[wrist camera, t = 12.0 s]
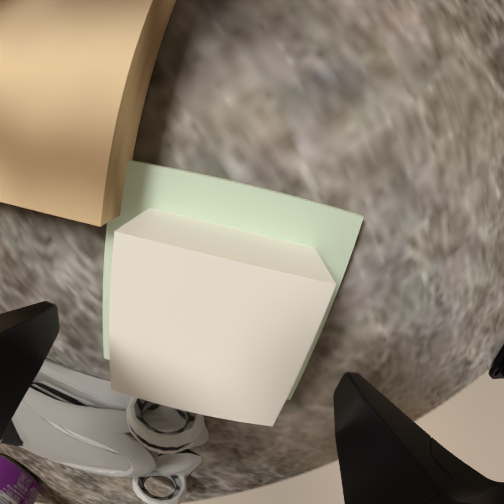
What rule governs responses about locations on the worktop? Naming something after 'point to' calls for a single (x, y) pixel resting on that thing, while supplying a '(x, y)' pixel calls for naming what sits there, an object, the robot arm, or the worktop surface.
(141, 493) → the car model
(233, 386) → the cover
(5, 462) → the beverage can
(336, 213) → the pad
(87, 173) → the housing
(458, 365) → the worktop surface
